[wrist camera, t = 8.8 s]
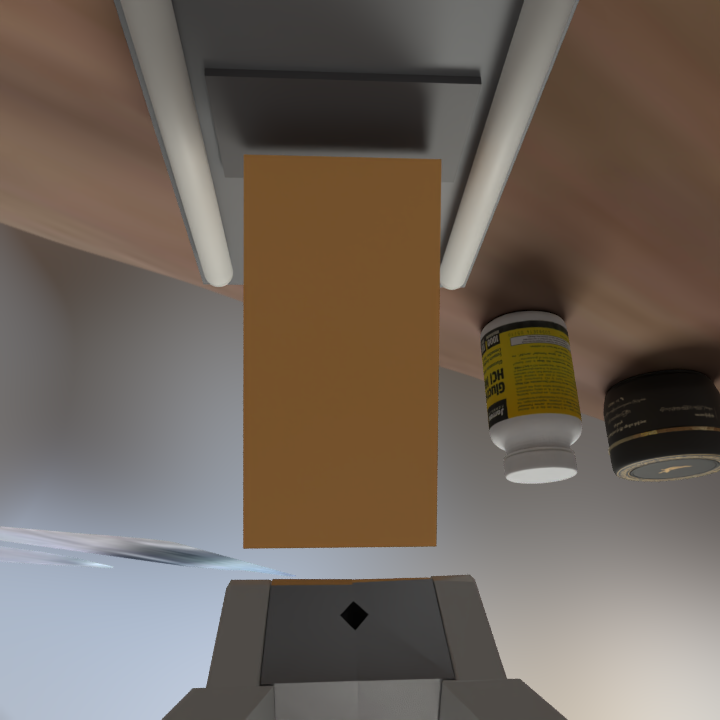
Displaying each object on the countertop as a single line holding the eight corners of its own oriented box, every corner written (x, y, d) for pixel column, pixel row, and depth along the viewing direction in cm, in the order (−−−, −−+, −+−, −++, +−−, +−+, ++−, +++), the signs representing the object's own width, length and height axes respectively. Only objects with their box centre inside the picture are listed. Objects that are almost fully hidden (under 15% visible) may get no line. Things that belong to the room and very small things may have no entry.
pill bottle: (480, 310, 46) (496, 466, 41) (571, 303, 45) (598, 461, 40) (477, 347, 51) (491, 488, 47) (558, 342, 51) (580, 484, 46)
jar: (580, 404, 64) (592, 482, 61) (633, 363, 55) (651, 452, 52) (675, 407, 65) (692, 484, 62) (742, 368, 56) (766, 455, 53)
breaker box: (622, -396, 15) (694, -216, 12) (454, 183, 33) (466, 310, 30) (73, -437, 14) (7, -257, 11) (212, 178, 32) (201, 307, 29)
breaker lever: (441, 159, 20) (436, 546, 21) (430, 175, 22) (426, 527, 23) (243, 154, 20) (243, 548, 20) (250, 170, 22) (250, 529, 22)
